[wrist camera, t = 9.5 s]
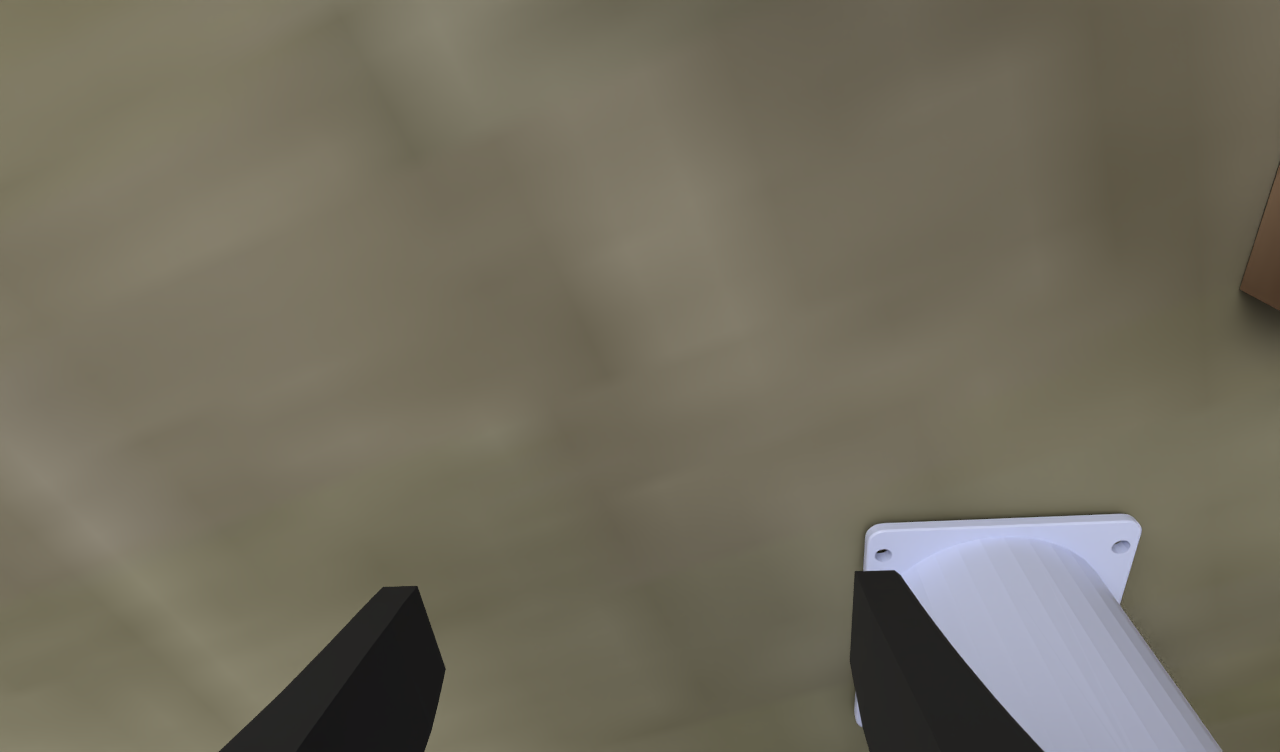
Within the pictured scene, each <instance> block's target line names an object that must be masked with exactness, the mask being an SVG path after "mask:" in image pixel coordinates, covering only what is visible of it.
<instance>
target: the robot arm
mask: <svg viewBox="0 0 1280 752" xmlns="http://www.w3.org/2000/svg"><path fill="white" fill-rule="evenodd" d="M1141 532H1142V528H1141V526H1140V524H1139V523H1138V522H1137V521H1136V520H1135V518H1134V517H1132V516H1130V515H1129V514H1102V515H1077V516H1052V517H1027V518H1002V519H977V520H952V521H927V522H902V523H881V524H876V525H874V526H872V527H871V528H870V529H869V530H868V531H867V533H866V536H865V550H864V566H863V571H855V578H854V596H853V614H852V632H851V650H850V664H851V669H852V675H853V680H854V686H855V691H856V692H855V708H854V713H855V718H856V722H857V724H858V725H859V726H861V727H863V730H864V734H865V737H866V741H867V744H868V747H869V751H870V752H1223V751H1222V749H1221V748H1220V747H1219V745H1218V744H1217V742H1216V741H1215V739H1214V738H1213V737H1212V735H1211V734H1210V732H1209V731H1208V730H1207V728H1206V727H1205V725H1204V724H1203V722H1202V721H1201V720H1200V718H1199V717H1198V715H1197V714H1196V713H1195V711H1194V710H1193V708H1192V707H1191V705H1190V704H1189V703H1188V701H1187V700H1186V698H1185V697H1184V695H1183V694H1182V693H1181V691H1180V690H1179V688H1178V687H1177V686H1176V684H1175V683H1174V681H1173V680H1172V678H1171V677H1170V676H1169V674H1168V673H1167V671H1166V670H1165V669H1164V667H1163V666H1162V664H1161V663H1160V661H1159V660H1158V659H1157V657H1156V656H1155V654H1154V653H1153V652H1152V650H1151V649H1150V647H1149V646H1148V644H1147V643H1146V642H1145V640H1144V639H1143V637H1142V636H1141V635H1140V633H1139V632H1138V630H1137V629H1136V627H1135V626H1134V625H1133V623H1132V622H1131V620H1130V619H1129V618H1128V616H1127V615H1126V613H1125V612H1124V610H1123V609H1122V608H1121V606H1120V602H1121V599H1122V595H1123V592H1124V589H1125V585H1126V582H1127V579H1128V576H1129V572H1130V569H1131V566H1132V562H1133V559H1134V556H1135V552H1136V549H1137V546H1138V542H1139V539H1140V536H1141ZM1118 541H1121V542H1119V543H1117V544H1115V543H1116V542H1118ZM1113 544H1114V545H1113ZM882 549H887V550H886V551H885V552H883V553H876V552H877V551H879V550H882ZM445 670H446V669H445V666H444V663H443V660H442V657H441V654H440V651H439V648H438V645H437V642H436V639H435V636H434V633H433V631H432V628H431V625H430V622H429V619H428V616H427V613H426V610H425V607H424V604H423V601H422V598H421V595H420V592H419V590H418V587H417V586H400V587H382V588H381V589H380V591H379V592H378V593H377V594H376V595H375V596H374V597H373V598H372V599H371V600H370V601H369V602H368V603H367V604H366V605H365V606H364V607H363V608H362V609H361V610H360V611H359V612H358V613H357V614H356V615H355V616H354V617H353V618H352V620H351V621H350V622H349V623H348V624H347V625H346V626H345V627H344V628H343V629H342V630H341V631H340V632H339V633H338V634H337V635H336V636H335V637H334V639H333V640H332V641H331V642H330V643H329V644H328V645H327V646H326V647H325V648H324V649H323V650H322V651H321V652H320V653H319V654H318V655H317V656H316V657H315V658H314V659H313V660H312V661H311V662H310V663H309V664H308V665H307V667H306V668H305V669H304V670H303V671H302V672H301V673H300V674H299V675H298V676H297V677H296V678H295V679H294V680H293V681H292V682H291V683H290V684H289V685H288V686H287V687H286V688H285V689H284V690H283V691H282V692H281V693H280V694H279V695H278V696H277V697H276V698H275V699H274V700H273V701H272V702H271V703H270V704H269V705H268V706H266V707H265V708H264V709H263V710H262V711H261V712H260V713H259V714H258V715H257V716H256V717H255V718H254V719H253V720H252V721H251V722H250V723H249V724H248V725H247V726H245V727H244V728H243V729H242V730H241V731H240V732H239V733H238V734H237V735H236V736H235V737H234V738H233V739H232V740H231V741H230V742H229V743H228V744H227V745H226V746H224V747H223V748H222V749H221V750H220V751H219V752H424V751H425V748H426V745H427V742H428V739H429V736H430V733H431V730H432V726H433V722H434V718H435V714H436V710H437V706H438V702H439V697H440V693H441V688H442V683H443V679H444V674H445Z"/></svg>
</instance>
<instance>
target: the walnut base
mask: <svg viewBox="0 0 1280 752" xmlns="http://www.w3.org/2000/svg"><path fill="white" fill-rule="evenodd" d="M1240 290H1242V291H1244V292H1246V293H1247V294H1249V295H1251V296H1253V297H1255V298H1257V299H1259V300H1260V301H1262V302H1264V303H1266V304H1268V305H1270V306H1272V307H1274V308H1275V309H1277V310H1279V311H1280V165H1279V168H1278V171H1277V174H1276V178H1275V181H1274V184H1273V187H1272V190H1271V193H1270V196H1269V199H1268V203H1267V206H1266V209H1265V212H1264V215H1263V218H1262V221H1261V224H1260V228H1259V231H1258V234H1257V237H1256V240H1255V243H1254V246H1253V249H1252V253H1251V256H1250V259H1249V262H1248V265H1247V268H1246V271H1245V274H1244V278H1243V281H1242V284H1241V287H1240Z"/></svg>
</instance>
